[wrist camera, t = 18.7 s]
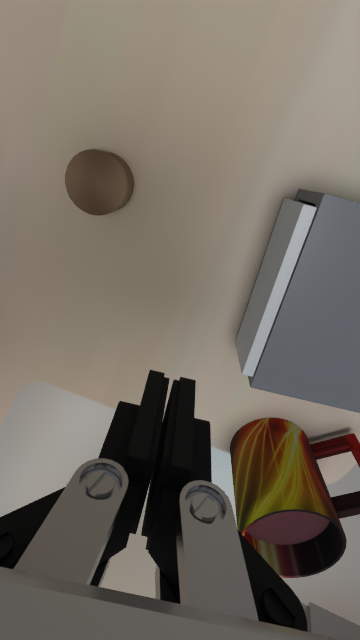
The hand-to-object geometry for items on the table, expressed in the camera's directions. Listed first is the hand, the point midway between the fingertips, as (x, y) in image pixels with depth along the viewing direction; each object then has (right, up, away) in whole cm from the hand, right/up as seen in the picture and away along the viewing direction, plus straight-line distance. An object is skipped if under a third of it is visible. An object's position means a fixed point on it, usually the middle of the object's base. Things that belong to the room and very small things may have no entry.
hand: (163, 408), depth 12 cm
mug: (+13, -11, +30) cm, 34 cm away
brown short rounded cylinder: (-6, +16, +19) cm, 25 cm away
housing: (+16, +6, +22) cm, 28 cm away
